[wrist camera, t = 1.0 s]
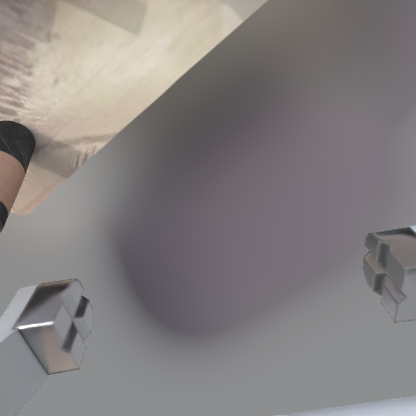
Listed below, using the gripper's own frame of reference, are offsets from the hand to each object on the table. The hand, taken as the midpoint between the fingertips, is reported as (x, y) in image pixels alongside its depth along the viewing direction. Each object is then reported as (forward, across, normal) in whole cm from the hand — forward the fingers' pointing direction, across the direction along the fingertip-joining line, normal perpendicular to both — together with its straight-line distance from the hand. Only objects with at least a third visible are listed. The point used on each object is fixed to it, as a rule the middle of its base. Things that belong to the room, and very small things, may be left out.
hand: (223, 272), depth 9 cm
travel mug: (+51, +34, +6) cm, 61 cm away
